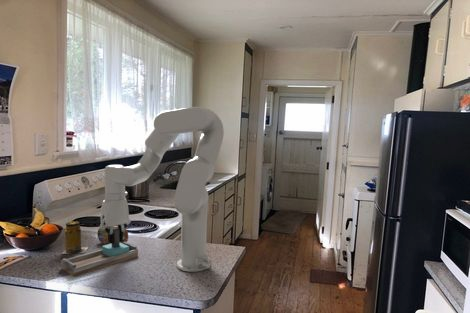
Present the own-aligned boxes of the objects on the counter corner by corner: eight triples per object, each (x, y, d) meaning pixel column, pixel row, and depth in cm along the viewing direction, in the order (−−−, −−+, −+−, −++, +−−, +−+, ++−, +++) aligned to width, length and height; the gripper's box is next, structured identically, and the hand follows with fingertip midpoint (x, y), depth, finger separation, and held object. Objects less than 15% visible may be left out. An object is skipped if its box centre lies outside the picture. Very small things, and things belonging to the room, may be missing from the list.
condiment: (68, 247, 151) (67, 220, 150) (88, 247, 152) (88, 220, 151) (61, 254, 144) (60, 225, 143) (83, 254, 145) (82, 225, 144)
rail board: (138, 256, 143) (138, 247, 143) (74, 276, 123) (74, 266, 123) (123, 250, 150) (123, 241, 149) (61, 268, 130) (61, 258, 130)
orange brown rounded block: (97, 243, 158) (96, 224, 157) (101, 240, 161) (101, 222, 160) (125, 247, 153) (125, 228, 152) (129, 245, 156) (129, 226, 155)
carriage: (129, 253, 141) (129, 229, 140) (113, 258, 136) (113, 233, 135) (118, 248, 146) (117, 225, 145) (102, 253, 141) (101, 228, 140)
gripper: (128, 192, 147) (128, 235, 149) (90, 198, 135) (91, 244, 137) (138, 194, 143) (138, 239, 144) (100, 201, 130) (101, 249, 132)
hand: (115, 241), depth 141 cm, fingers closed on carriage, 3 cm apart
